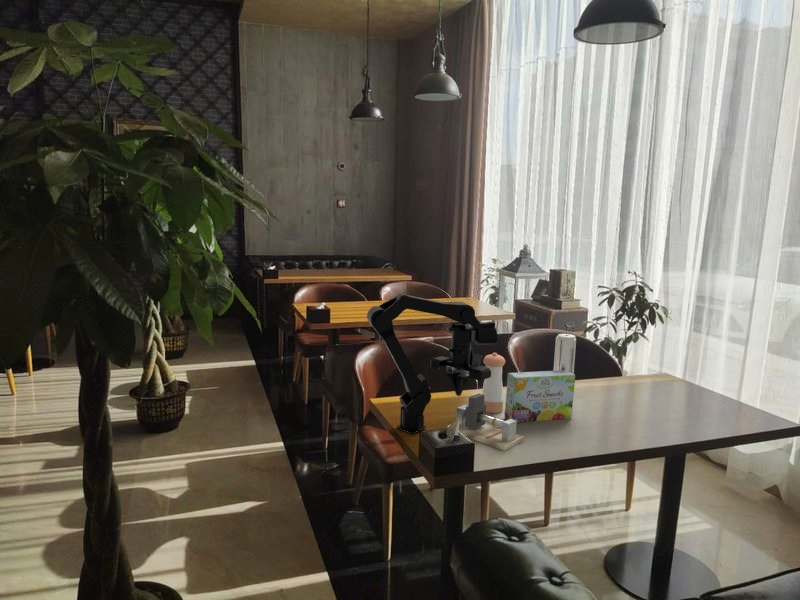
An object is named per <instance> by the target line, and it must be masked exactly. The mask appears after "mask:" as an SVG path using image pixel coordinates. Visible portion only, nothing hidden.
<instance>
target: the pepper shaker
mask: <svg viewBox="0 0 800 600" xmlns="http://www.w3.org/2000/svg"><path fill="white" fill-rule="evenodd" d="M483 363H484V366H485V367H488V368H490V370H491V377H490V378H487V379H484V380H483V384H482V385H483V386H482V393H481V394H483V395H484V404H485V405H486V413H489V414H499V413H502V412H503V411H504V409H503V408H504V399H503V393H504V387H503V367H504V366H505V364H506V359H505V358H504V357H503V356H502V355H500V354H498V353H497V352H492V354H487V355H485V357H484V358H483Z"/></svg>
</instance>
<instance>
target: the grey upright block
mask: <svg viewBox="0 0 800 600" xmlns="http://www.w3.org/2000/svg"><path fill="white" fill-rule="evenodd" d="M477 413H480V414H484V415H487V412H486V405H485V404H484V395H483V394H482V393H476V394H473V395H471V396H468V406H467V407H466V417H465V427H468V428H471V429H475V428H478V427H480V426H482V425H484V424H486V422H483V421H480V420H477Z"/></svg>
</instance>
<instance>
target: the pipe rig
mask: <svg viewBox="0 0 800 600" xmlns="http://www.w3.org/2000/svg"><path fill="white" fill-rule="evenodd" d="M467 406H469V404H468V405H467V404H462V405H460V406H457V407H456V414H455V415H456V417H455V419H456V421H457V420H458V421H459V426H463V425H465V417H466V407H467ZM477 420H480V421H483V422H485V424H488V425H491V426H494V427H497V428H500V429H502V441H505V442H510V441H511V440H513V439H515V438H516V434H517V424H518V423H517V421H516V420H513V419H509V420H507V419H506V420H502V419H499V418H497V417H492V416H489V415H487V414H486V415H484V414H480V413H477ZM456 421H455V422H456Z"/></svg>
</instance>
